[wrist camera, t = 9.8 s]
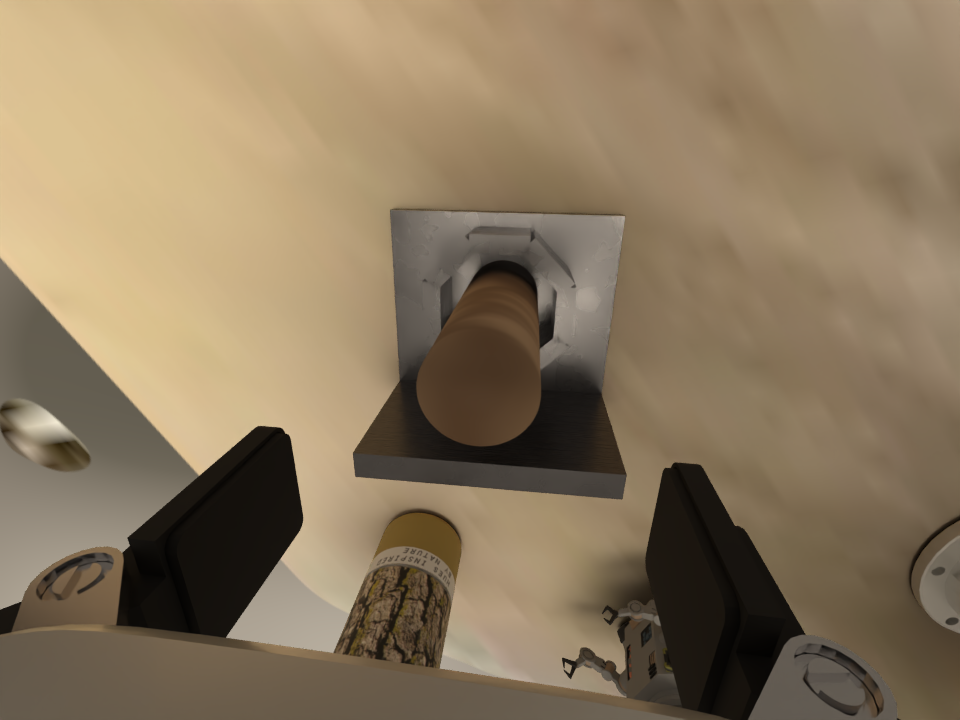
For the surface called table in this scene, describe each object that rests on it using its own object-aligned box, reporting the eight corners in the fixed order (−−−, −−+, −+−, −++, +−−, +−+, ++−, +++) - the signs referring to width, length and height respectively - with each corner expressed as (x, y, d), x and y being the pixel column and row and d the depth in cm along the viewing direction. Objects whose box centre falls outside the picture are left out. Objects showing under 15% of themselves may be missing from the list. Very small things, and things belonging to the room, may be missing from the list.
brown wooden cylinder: (540, 261, 28) (545, 337, 15) (535, 329, 29) (536, 450, 16) (468, 258, 28) (414, 330, 15) (468, 326, 30) (418, 442, 17)
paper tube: (374, 512, 38) (132, 1028, 15) (451, 503, 37) (313, 1051, 14) (398, 572, 40) (220, 1097, 17) (471, 565, 39) (382, 1121, 16)
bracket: (596, 406, 32) (622, 499, 23) (404, 393, 33) (355, 476, 24) (622, 214, 27) (668, 235, 18) (394, 208, 28) (328, 225, 19)
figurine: (612, 534, 36) (660, 755, 22) (735, 589, 37) (855, 836, 23) (558, 603, 40) (571, 831, 26) (671, 652, 40) (743, 899, 27)
